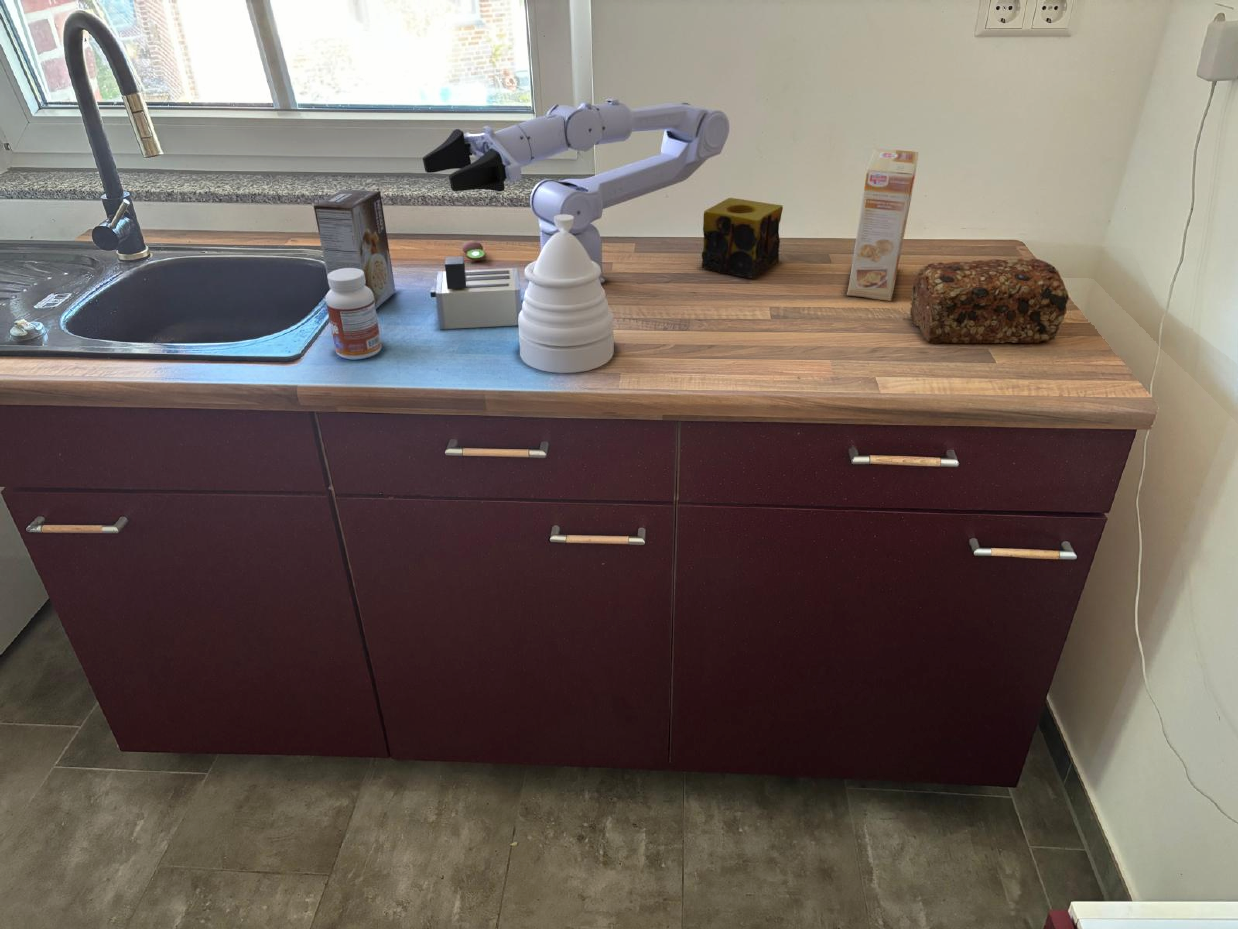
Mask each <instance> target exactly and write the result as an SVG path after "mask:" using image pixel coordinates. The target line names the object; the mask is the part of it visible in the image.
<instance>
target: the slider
mask: <svg viewBox="0 0 1238 929" xmlns="http://www.w3.org/2000/svg"><path fill="white" fill-rule="evenodd" d="M444 259H445V260H444V270H445V271H446V280H447V289H455V288H466V273H465V270H466V264H465V256H448V257H447V256H446V257H445V258H444Z"/></svg>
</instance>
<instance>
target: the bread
mask: <svg viewBox="0 0 1238 929" xmlns="http://www.w3.org/2000/svg"><path fill="white" fill-rule="evenodd" d="M1070 299H1071V298H1070V297H1069V292H1068V290H1067V288H1066V285H1065V282H1064V280H1063V279H1062V276H1061V275H1060V272H1059V270H1058V269H1056V267H1055V266H1054V265H1053V264H1051V263H1048V262H1047V261H1045V260H1041V259H1040V258H1039V259H1038V258H1015V259H1013V258H1011V259H1005V260H1003V259H997V258H995V259H988V260H982V259H979V260H972V261H963V260H962V261H952V262H951V261H950V262H936V263H935V262H933V263H929V264H927V265H924V266H922V267H921V268H920V269H918V271H917V273H916V276H915V278H914V281H913V286H912V292H911V298H910V301H911V302H910V312H909V315H910V318H911V319H912V320H913V324H914V326H916V327H918V328H919V329H920V333H921V335H922V336H923V337H924V338H925V341H927V343H931V344H933V345H934V344H941V343H948V344H961V343H962V344H1004V343H1012V344H1017V343H1018V344H1029V343H1036V344H1037V343H1041V342H1042V341H1043V342H1051V341H1054V340H1055V339H1056V337H1057V336H1058V331H1059V330H1060V327H1061V325H1062V322H1063V321H1064V320H1065V316H1066V314H1067V309H1068V308H1067V305H1068V301H1069V300H1070Z"/></svg>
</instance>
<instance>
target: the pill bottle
mask: <svg viewBox="0 0 1238 929" xmlns="http://www.w3.org/2000/svg"><path fill="white" fill-rule="evenodd" d="M326 277H327V284H328V286H329V287H330V288H331V290H330V288H329V291H328V292H327V293H326V295H325V304H326V309H327V310H326V311H327V314H328V315H327V316H328V320H329V324H330V325H329V326H330V330H331V336H332V339H333V346H334V351H335V353H336V355H338V356H339V357H341V358H342V359H346V360H362V359H367V358H371V357H372V356H375V355H377V354H378V353H380V351H381V349H382V340H381V334H380V327H379V321H378V314H377V308H375V301H374V295H373V292H372V291H371V289H370V288H368V287H367V286H365V281H366V280H365V275H364V272H363V271H362V270H360V269H357V268H343V269H338V270H335V271H332V272H330V273H329V274H328V276H327V275H326Z"/></svg>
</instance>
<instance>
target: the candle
mask: <svg viewBox="0 0 1238 929" xmlns="http://www.w3.org/2000/svg"><path fill="white" fill-rule="evenodd" d="M783 210H784V206H783V205H782V204H775V203H768V202H761V201H755V200H749V199H742V198H736V197H735V198H734V197H729V198H726V199H724V200H722V201H721V202H719V203H717V204H715V205H713V206H711V207H710V208H707V209H705V210H704V211H703V223H702V233H703V247H702V252H701V268H702V269H705V270H706V271H707V270H708V271H714V272H718V273H721V274H726V275H732V276H736V277H742V278H745V279H756V278H758V277H759V276H760V275H762V274H764V273H765V272H767V271H768V270H769V269H771V267H772V266H774V265H776V264H778V263H780V258H779V257H780V253H779V252H780V245H781V239H780V223H781V220H782V213H783Z"/></svg>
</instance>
